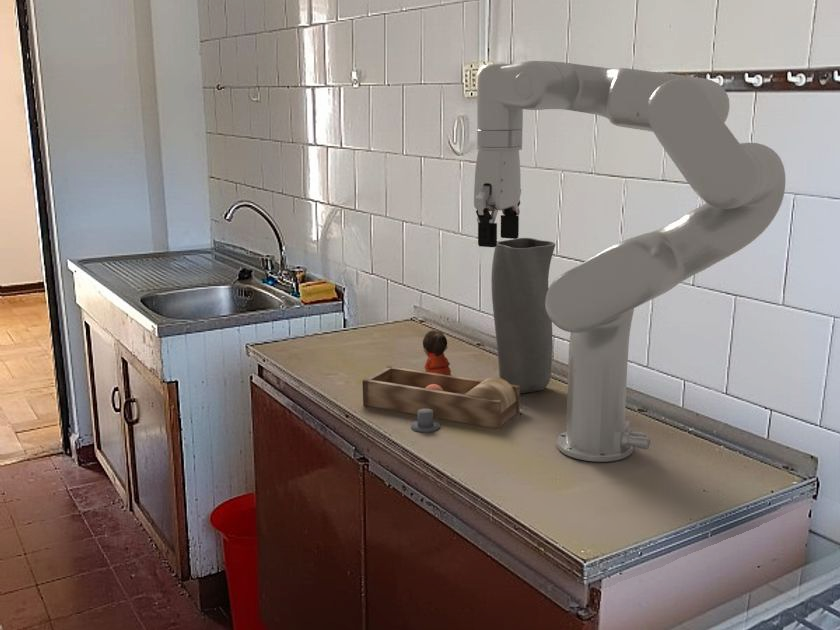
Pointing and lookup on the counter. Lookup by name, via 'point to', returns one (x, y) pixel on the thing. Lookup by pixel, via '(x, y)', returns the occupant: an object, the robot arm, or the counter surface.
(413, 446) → the counter surface
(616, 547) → the counter surface
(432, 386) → the ball
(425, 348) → the figurine
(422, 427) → the stand
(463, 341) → the counter surface
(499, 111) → the robot arm
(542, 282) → the vase
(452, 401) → the wooden trough
